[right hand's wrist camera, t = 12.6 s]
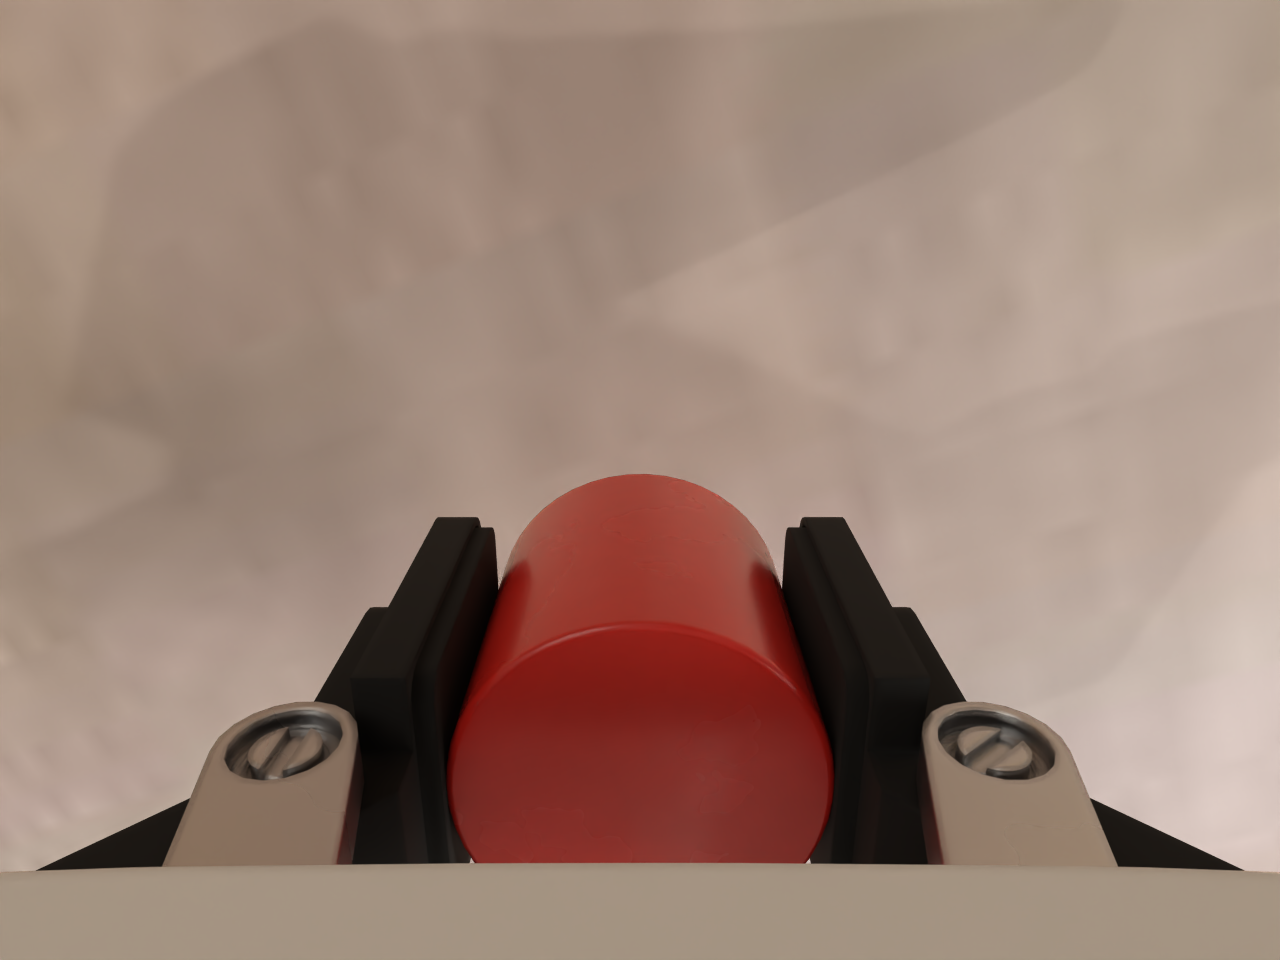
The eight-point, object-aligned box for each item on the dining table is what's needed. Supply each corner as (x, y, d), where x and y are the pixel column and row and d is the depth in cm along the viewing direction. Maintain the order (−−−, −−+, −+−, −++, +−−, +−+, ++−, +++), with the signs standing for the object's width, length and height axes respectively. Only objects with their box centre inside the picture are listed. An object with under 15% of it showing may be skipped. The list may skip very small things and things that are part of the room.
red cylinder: (703, 423, 12) (733, 556, 8) (821, 651, 13) (896, 860, 9) (450, 547, 12) (366, 726, 8) (586, 753, 13) (566, 989, 10)
